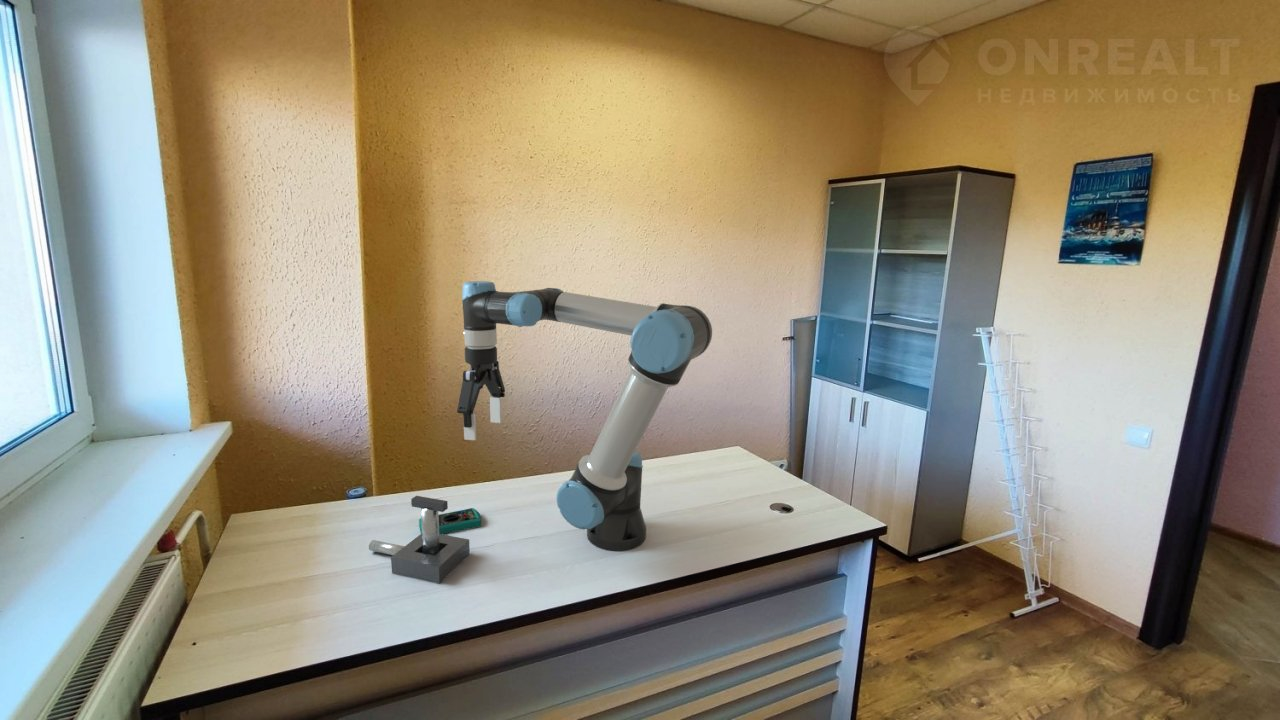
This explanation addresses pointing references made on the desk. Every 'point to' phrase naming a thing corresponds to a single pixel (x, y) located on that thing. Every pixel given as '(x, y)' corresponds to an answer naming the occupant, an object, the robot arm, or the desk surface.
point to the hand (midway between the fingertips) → (483, 430)
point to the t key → (430, 522)
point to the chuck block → (425, 557)
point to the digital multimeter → (457, 521)
